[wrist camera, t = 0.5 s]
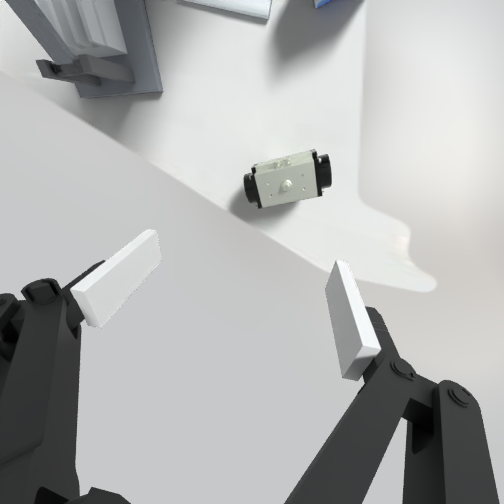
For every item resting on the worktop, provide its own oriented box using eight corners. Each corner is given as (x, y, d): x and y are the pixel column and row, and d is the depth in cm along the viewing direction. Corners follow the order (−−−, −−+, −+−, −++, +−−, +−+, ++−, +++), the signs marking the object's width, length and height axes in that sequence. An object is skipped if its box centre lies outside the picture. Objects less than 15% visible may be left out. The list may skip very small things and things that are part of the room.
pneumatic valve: (323, 175, 37) (335, 196, 27) (258, 190, 40) (247, 213, 30) (320, 141, 34) (332, 149, 24) (250, 159, 37) (236, 173, 27)
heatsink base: (33, -51, 28) (-86, -131, 19) (128, -73, 26) (43, -174, 17) (87, 98, 36) (22, 90, 27) (163, 91, 34) (118, 81, 25)
